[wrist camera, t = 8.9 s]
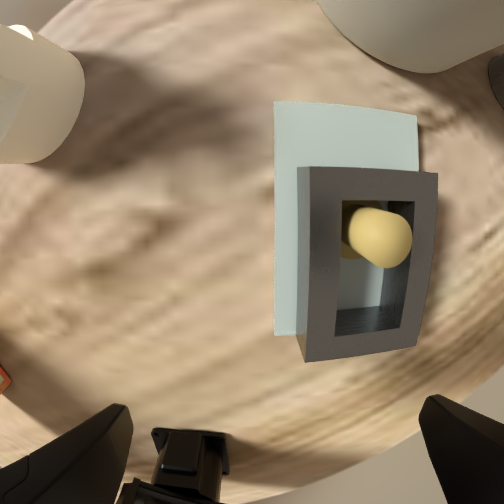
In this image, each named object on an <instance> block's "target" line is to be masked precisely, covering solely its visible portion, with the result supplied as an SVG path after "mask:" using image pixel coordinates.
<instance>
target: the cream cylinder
mask: <svg viewBox="0 0 504 504" xmlns="http://www.w3.org/2000/svg"><path fill="white" fill-rule="evenodd" d="M84 89H85V79H84V71H83V69H82V66H81V64H80V62H79V60H78V59H77V58H76V57H75V56H73V55H72V54H71V53H69V52H68V51H66V50H65V49H63V48H61V47H60V46H58V45H56V44H55V43H53V42H51V41H50V40H48V39H46V38H45V37H43V36H41V35H39V34H38V33H36V32H34V31H32V30H31V29H29V28H27V27H25V26H21V25H12V26H9V27H7V26H5V25H3V24H1V23H0V164H29V163H34V162H39V161H41V160H43V159H44V158H46V157H48V156H50V155H51V154H52V153H53V152H54V151H55V150H56V149H57V148H58V147H59V146H60V145H61V144H62V143H63V141H64V140H65V139H66V137H67V136H68V134H69V133H70V132H71V130H72V128H73V126H74V124H75V122H76V120H77V118H78V115H79V112H80V109H81V105H82V102H83V98H84Z"/></svg>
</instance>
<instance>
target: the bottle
mask: <svg viewBox="0 0 504 504" xmlns="http://www.w3.org/2000/svg"><path fill="white" fill-rule="evenodd" d="M489 78H490V82H491V86H492V89H493V91H494V93H495V95H496V97H497V100H498V101H499V103H500V105H501V106H502V107H503V109H504V54H502V55H499V56H497V57H495V58H493V59H492V60H491V61H490V64H489Z"/></svg>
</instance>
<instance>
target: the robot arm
mask: <svg viewBox="0 0 504 504" xmlns="http://www.w3.org/2000/svg"><path fill="white" fill-rule="evenodd" d="M419 424H420V427H421V430H422V434H423V437H424V440H425V443H426V447H427V450H428V454H429V457H430V459H431V462H432V464H433V467H434V469H435V472H436V474H437V477H438V479H439V482H440V485H441V487H442V490H443V492H444V495H445V497H446V500H447V503H448V504H504V424H502V423H500V422H497V421H495V420H493V419H491V418H489V417H486V416H484V415H482V414H480V413H477V412H475V411H473V410H471V409H469V408H467V407H464V406H462V405H460V404H458V403H456V402H454V401H452V400H450V399H448V398H446V397H444V396H441V395H439V394H436V395H432V396H429V397H427V398H426V400H425V402H424V404H423V407H422V409H421V412H420V414H419ZM132 435H133V422H132V419H131V416H130V412H129V409H128V407H127V406H126V405H122V404H117V403H114V404H111V405H110V406H108V407H107V408H105V409H104V410H102V411H100V412H99V413H97V414H96V415H94V416H92V417H91V418H89V419H88V420H86V421H84V422H83V423H81V424H80V425H78V426H76V427H75V428H73V429H71V430H70V431H68V432H66V433H65V434H63V435H61V436H60V437H58V438H56V439H55V440H53V441H51V442H50V443H48V444H46V445H44V446H43V447H41V448H39V449H38V450H36V451H34V452H32V453H31V454H29V455H27V456H25V457H23V458H22V459H20V460H18V461H16V462H14V463H12V464H10V465H8V466H6V467H4V468H2V469H0V504H114V502H115V499H116V496H117V493H118V490H119V487H120V484H121V481H122V478H123V475H124V472H125V468H126V463H127V458H128V453H129V448H130V444H131V439H132ZM151 435H152V438H153V440H154V443H155V446H156V449H157V451H158V454H159V457H158V460H157V463H156V467H155V470H154V473H153V477H152V480H151V484H149V483H146V482H143V481H141V479H138V478H135V477H134V479H133V482H132V483H124V485H123V487H122V490H121V493H120V496H119V498H118V500H117V502H116V504H225V503H219V501H220V489H221V478H222V475H229V472H230V469H229V461H228V453H227V444H226V436H225V435H224V434H221V433H204V432H190V431H178V430H169V429H160V428H153V429H152V432H151ZM219 438H221V439H219Z"/></svg>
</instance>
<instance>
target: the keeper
mask: <svg viewBox="0 0 504 504" xmlns="http://www.w3.org/2000/svg"><path fill="white" fill-rule="evenodd" d="M273 115H274V191H275V253H274V335H275V336H284V335H296V314H297V266H298V204H297V167H306V166H324V167H358V168H378V169H394V170H407V171H419V157H418V131H417V116H415V115H410V114H404V113H399V112H393V111H387V110H380V109H374V108H366V107H358V106H350V105H340V104H329V103H315V102H298V101H274V104H273ZM411 246H412V231H411V228H410V226H409V224H408V222H407V221H406V220H405V219H404V218H403V217H402V216H400V215H398V214H394V213H391V212H388V201H385V200H342V227H341V254H340V273H339V288H338V301H337V310H344V309H354V308H364V307H373V306H379V304H380V297H381V289H382V281H383V272H384V268H392V267H395V266H397V265H399V264H400V263H401V262H402V261H403V260H404V259H405V258H406V257H407V255H408V254H409V252H410V249H411Z"/></svg>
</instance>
